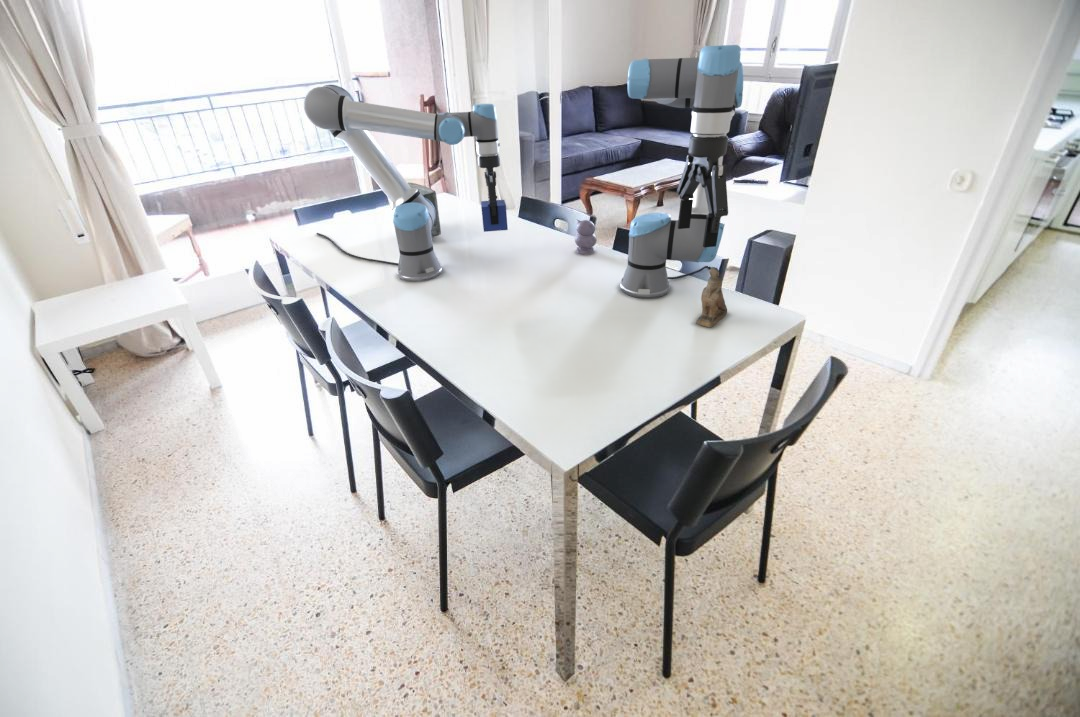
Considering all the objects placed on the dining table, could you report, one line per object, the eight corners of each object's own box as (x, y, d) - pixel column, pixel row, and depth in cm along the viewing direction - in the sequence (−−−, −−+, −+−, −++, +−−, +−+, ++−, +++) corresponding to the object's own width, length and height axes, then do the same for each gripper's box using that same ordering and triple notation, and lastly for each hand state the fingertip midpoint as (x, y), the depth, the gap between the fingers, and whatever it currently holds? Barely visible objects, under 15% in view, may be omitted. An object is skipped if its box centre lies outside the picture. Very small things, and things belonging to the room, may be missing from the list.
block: (483, 231, 179) (481, 206, 175) (483, 225, 186) (480, 201, 182) (507, 230, 180) (505, 205, 175) (506, 223, 187) (504, 199, 182)
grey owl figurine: (600, 251, 189) (601, 219, 183) (587, 257, 184) (588, 225, 178) (583, 246, 194) (583, 216, 188) (570, 252, 190) (570, 220, 183)
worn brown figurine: (709, 335, 136) (713, 280, 124) (691, 329, 139) (693, 274, 128) (730, 313, 142) (736, 258, 130) (712, 307, 145) (716, 253, 133)
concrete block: (446, 240, 206) (439, 191, 196) (426, 245, 202) (419, 195, 192) (419, 226, 225) (412, 180, 215) (401, 230, 221) (392, 184, 210)
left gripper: (501, 159, 161) (506, 228, 173) (497, 149, 179) (502, 212, 191) (478, 160, 161) (484, 229, 173) (476, 150, 178) (483, 213, 190)
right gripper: (759, 142, 91) (738, 253, 102) (700, 126, 112) (688, 220, 123) (720, 144, 90) (704, 256, 101) (668, 128, 111) (659, 222, 122)
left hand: (494, 220), depth 182 cm, fingers closed on block, 8 cm apart
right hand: (695, 237), depth 112 cm, fingers open, 13 cm apart
